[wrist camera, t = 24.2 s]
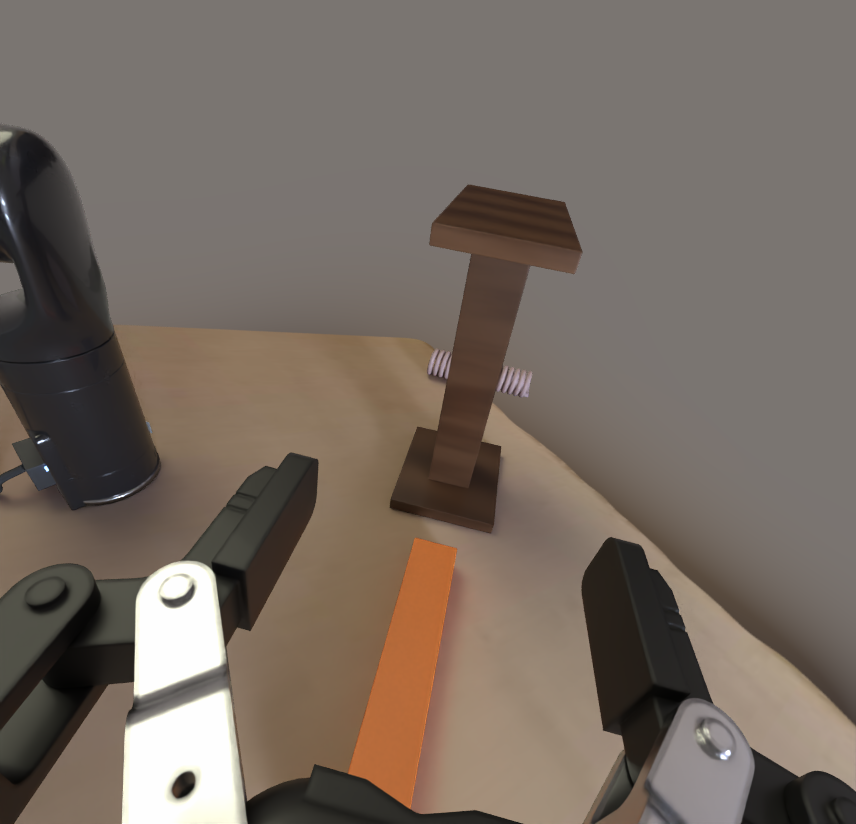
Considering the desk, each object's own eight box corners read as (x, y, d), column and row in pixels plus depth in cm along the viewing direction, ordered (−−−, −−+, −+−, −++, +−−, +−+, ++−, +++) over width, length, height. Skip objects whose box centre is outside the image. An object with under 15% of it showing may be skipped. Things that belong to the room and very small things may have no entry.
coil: (535, 368, 71) (434, 343, 74) (535, 379, 67) (428, 352, 70) (528, 391, 74) (429, 367, 76) (527, 403, 70) (423, 377, 72)
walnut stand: (488, 551, 46) (598, 254, 27) (383, 524, 47) (417, 219, 28) (499, 442, 61) (575, 203, 42) (420, 424, 62) (458, 182, 43)
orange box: (382, 941, 24) (386, 938, 22) (310, 915, 24) (308, 911, 23) (452, 565, 44) (457, 548, 42) (411, 554, 44) (414, 537, 43)
